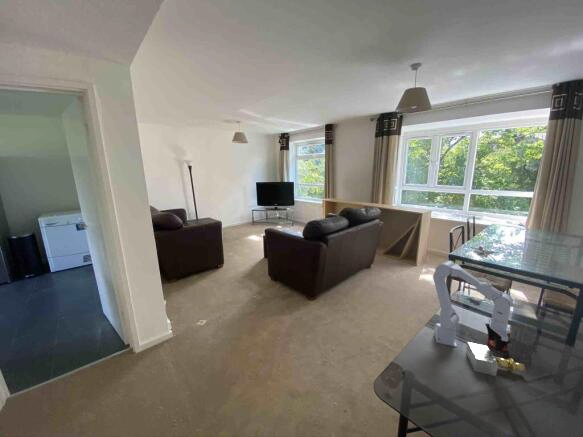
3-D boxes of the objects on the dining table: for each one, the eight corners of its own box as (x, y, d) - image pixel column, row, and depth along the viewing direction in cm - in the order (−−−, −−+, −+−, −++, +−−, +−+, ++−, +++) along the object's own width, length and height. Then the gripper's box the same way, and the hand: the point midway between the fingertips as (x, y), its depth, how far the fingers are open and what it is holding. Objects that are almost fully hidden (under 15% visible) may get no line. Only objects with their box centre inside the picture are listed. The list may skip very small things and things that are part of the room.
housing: (474, 370, 108) (476, 358, 107) (465, 353, 119) (467, 341, 118) (495, 376, 105) (498, 363, 104) (485, 357, 116) (487, 345, 115)
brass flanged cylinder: (497, 371, 108) (499, 360, 107) (492, 362, 113) (494, 352, 112) (525, 377, 104) (528, 367, 103) (519, 368, 109) (521, 358, 108)
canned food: (509, 353, 119) (513, 334, 117) (490, 348, 122) (493, 329, 120) (503, 343, 126) (507, 325, 124) (485, 339, 129) (488, 321, 127)
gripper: (519, 330, 101) (513, 358, 103) (503, 312, 114) (498, 337, 117) (498, 326, 103) (493, 353, 106) (485, 309, 117) (481, 333, 119)
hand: (494, 344), depth 111 cm, fingers open, 7 cm apart
